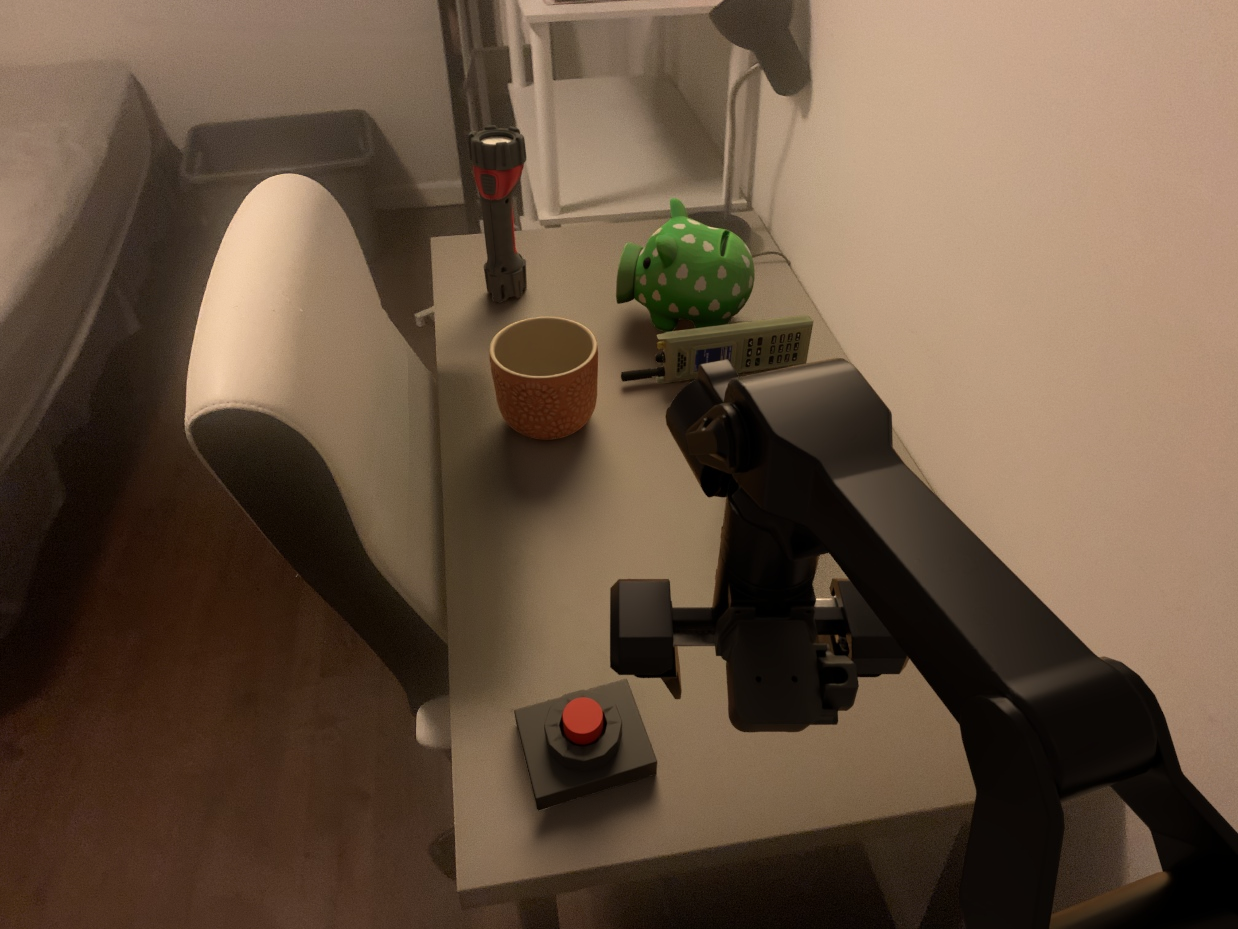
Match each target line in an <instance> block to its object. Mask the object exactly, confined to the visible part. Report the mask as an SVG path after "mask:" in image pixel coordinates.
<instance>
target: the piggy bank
mask: <svg viewBox="0 0 1238 929" xmlns="http://www.w3.org/2000/svg"><path fill="white" fill-rule="evenodd" d="M669 208H670V219H669V220H667V221H666V222H665V223H664V224H663V225H661V226H660V227H659V228H658V229H656V230H655V231H654V232H653V233H651V235H650V237H649V238H648V240H647V242H646V244H645V246H644V247H643V246H642V245H640V244H637V243H633V242H626V244H624V247H623V249H622V252H621V255H620V258H619V263H618V267H617V274H616V281H615V282H616V285H615V300H616V304H617V305H621V304H624V303H629V302H631V301H632V302H633V300H635V301H636V302H637V303H639V304H641V305H642V306H643V307H645V308H646V309H647V310H648V312H649V315H650V321H651V323H652V325H653V326H654V328H655V329H656V330H658V331H660V332H663V333H666V332H670V331H675V329H676V328H677V326H678V325H679V322H680V320H685V321H690V322H692V323H693V326H694V328H703V327H711V326H719V325H727V324H730V321H731V320H732V318H733V317H735V316H736V315H738V314H739V313H740V312H741V311H742V309H743V308H744V307H745V305H747V303H748V301H749V299H750V296H751V295H752V292H753V289H754V285H755V279H756V278H755V271H756V270H755V263H754V258H753V255H752V252H751V251H750V250H751V249H750V248H749V247H748V245H747V243H746V242H744V241H743V239H742V238H741V237H739V236H738V235H737V234H736V233H734V232H732V231H731V230H729V229H725V228H720V227H714V226H709V225H707V224H704V223H702V222H700V221H697V220H695V219H693V218H690V217H689V216H688V212H687V209H686V206H685V205H684V203H683V201H682V200H680V199H679V198H676V197H671V198H669Z"/></svg>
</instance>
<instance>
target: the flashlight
mask: <svg viewBox="0 0 1238 929" xmlns="http://www.w3.org/2000/svg"><path fill="white" fill-rule="evenodd" d="M467 142H468V154H469V161H471V162H472V168H473V176H474V181H475V184H476V187H477V190H478V195H479V199H480V203H481V212H482V213H481V214H482V223H483V224H482V225H483V233H484V242H485V250H486V262H485V263H484V264H483V270H484V271H483V273H484V279H485V286H486V291H487V293H488V294H491V296H492V299H491V300H492V301H493V302H494V303H498V304H499V303H503V302H505V301H507V300H508V299H509V298H513V297H514V298H515V299H519V298H520V297H522V296H523V291H525V290H527V287H528V280H527V279H528V278H527V260H526V259H525V258H523V255H522V254H521V253H520V252H518V250H517V246H516V234H515V221H514V220H515V217H514V210H513V208H514V207H513V195H514V193H515V191H516V188H517V187H518V184H519V182H520V180H521V177H522V175H523V170H524V166H525V163H526V161H527V150H526V148H527V147H526V141H525V135H524V134H522V133H521V130H520V129H519V128H518V127H516V126H512V125H511V126H509V127H508V128H501V127H500V128H499V127H497V126H496V125H495V124H494V125H493V124H492V125H486V126H484V128H483V130H480V131H476V130H472V131H470V132H469V134H468V135H467Z"/></svg>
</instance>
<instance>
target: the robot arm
mask: <svg viewBox="0 0 1238 929" xmlns="http://www.w3.org/2000/svg"><path fill="white" fill-rule="evenodd" d="M664 416H665V424H666V427H667V429H668V431H669V432H670V434H671V436H672V438H673V440H674V441H675V443H676V445H677V447H678V449H679V450H680V452H681V455H682V456H683V458H684V460H685V461H686V463H687V465H688V467H689V468H690V470H691V472H692V474H693V476H694V478H695V479H696V482H697V483H698V485H699V486H700V488H701V490H702V492H703V493H704V495H705V496H706V497H707V498H713V497H717V498H725V505H724V514H723V521H722V525H721V530H720V544H719V549H718V550H719V551H718V559H717V567H716V569H715V575H714V576H715V577H714V582H715V583H714V590H713V598H712V605H711V606H710V607H708V606H707V607H705V606H704V607H702V606H700V607H698V606H697V607H695V606H694V607H691V606H689V607H688V606H687V607H686V606H685V607H683V606H681V607H673V601H672V594H671V592H672V591H671V580H670V579H669V578H619V579H617V580H616V581H615V582H614V584H612V585H611V587H610V588H609V668H610V669H611V670H613V671H614V672H615V673H616V674H617V675H618V676H633V677H635V678H638V679H660V680H661V681H662V683H663V684H664V685H665V687H666V688H667V690H668V691H669V693H670V694H671V696H672V697H673V699H674V700H681V698H682V693H683V691H682V675H681V664H680V656H679V647H714V650H715V651H714V653H715V656H716V657H721V659H722V660H723V661H725V673H726V674H725V675H726V687H727V688H726V690H727V710H728V711H727V713H728V719H729V722H730V723H731V725H732V727H734V728H735V729H736V730H737V731H739V732H742V733H799V732H800V733H801V732H803V731H804V730H806V729H807V728H808V727H810V726H837V725H838V723H839V712H847V711H849V710H851V709H852V707H853V706H854V705H855V702H856V698H857V695H858V690H859V686H860V685H859V678H879V677H880V676H882V675H900V674H901V673H902V672H903V671H904V670H905V668H906V667H907V665H908V663H909V661H911V663H912V664H913V666H914V667H915V668H916V670H917V672H919V673H920V675H921V676H922V678H923V679H924V680H925V681H926V683H927V684H928V685H929V687H930V688H931V690H932V691H933V692H934V694H936V696H937V698H939V700H940V702H942V704H943V705H944V706H945V708H946V709H947V711H949V713H950V715H951V716H952V717H953V719H954V720H955V721H956V722H957V724H958V725H959V731H960V738H961V741H962V746H963V749H964V754H965V756H966V760H967V763H968V767H969V770H970V774H971V777H972V781H973V785H974V789H975V797H974V798H975V799H974V804H973V809H972V815H971V821H970V827H969V833H968V839H967V845H966V849H965V854H964V861H963V867H962V871H961V878H960V883H959V889H958V898H959V899H958V901H959V902H958V904H959V908H960V911H961V912H960V913H961V915H962V919H963V922H964V927H965V929H1238V831H1237V830H1236V829H1235V828H1234V827H1233V826H1232V825H1231V824H1230V823H1229V822H1228V820H1227V819H1225V817H1224V816H1223V815H1222V814H1221V813H1220V811H1218V809H1217V808H1216V807H1214V806H1213V804H1212V803H1211V802H1210V801H1209V800H1208V799H1207V797H1206V796H1204V794H1203V793H1202V792H1201V791H1200V790H1199V789H1198V787H1196V786H1195V785H1194V783H1192V781H1191V780H1190V779H1189V778H1188V777H1187V776H1186V775H1185V774H1184V772H1183V770H1182V766H1181V764H1180V761H1179V757H1178V754H1177V750H1176V748H1175V744H1174V741H1173V738H1172V735H1171V731H1170V728H1169V725H1168V721H1167V718H1166V716H1165V714H1164V711H1163V709H1162V707H1161V705H1160V703H1159V701H1158V697H1157V696H1156V694H1155V693H1154V692H1153V690H1152V689H1151V688H1150V687H1149V685H1148V684H1147V683H1146V682H1145V680H1144V679H1143V678H1142V677H1141V676H1140V674H1138V672H1135V671H1134V670H1133V669H1132V668H1130V666H1128V665H1126V664H1125V663H1124V662H1123V661H1121V660H1117V659H1114V658H1111V657H1108V656H1105V655H1104V656H1098V655H1096V653H1095V652H1094V651H1093V650H1092V649H1091V648H1090V647H1089V646H1088V645H1087V644H1085V642H1084V641H1083V640H1082V639H1080V637H1079V636H1078V635H1077V634H1076V633H1075V632H1073V630H1072V629H1071V628H1070V627H1069V626H1068V625H1067V624H1066V623H1065V622H1064V621H1063V620H1062V619H1060V617H1059V616H1058V615H1057V614H1055V612H1054V611H1053V610H1052V609H1051V608H1050V607H1049V606H1048V605H1047V604H1046V603H1045V602H1044V601H1043V600H1042V599H1041V598H1040V597H1039V596H1038V595H1037V594H1036V593H1035V592H1034V591H1033V590H1032V589H1030V587H1029V586H1028V585H1027V584H1026V583H1025V582H1024V581H1023V580H1022V579H1021V578H1020V577H1019V576H1018V575H1017V574H1016V573H1015V572H1014V571H1013V570H1012V569H1011V568H1010V567H1009V566H1008V565H1007V564H1006V563H1005V562H1004V561H1003V560H1002V559H1001V558H1000V557H999V556H998V555H997V554H996V553H995V552H994V551H993V550H992V549H991V548H990V547H989V546H988V545H987V544H986V542H984V541H983V540H982V539H981V538H980V537H979V536H978V535H977V534H976V533H975V532H974V531H973V530H972V529H971V528H970V527H969V526H968V525H967V524H966V523H965V522H964V521H963V520H962V519H961V518H960V517H959V516H958V515H957V514H956V513H955V512H954V511H953V510H952V509H951V508H950V507H949V506H948V505H947V504H946V503H945V501H943V500H942V499H941V498H940V497H939V495H937V494H936V493H935V492H934V491H933V490H932V489H931V488H930V487H929V486H928V485H927V484H926V483H925V482H924V481H923V480H922V479H921V478H920V477H919V476H918V475H917V474H916V473H915V472H914V471H913V470H912V469H911V468H910V467H909V466H908V465H907V464H906V462H905V461H904V460H903V458H902V457H901V456H900V454H899V453H898V452H897V450H896V449H895V448H894V444H893V443H894V442H893V414H892V410H891V409H890V407H889V406H888V405H887V404H886V402H885V401H884V400H883V399H882V397H881V396H880V395H879V394H878V392H877V391H876V390H875V389H874V388H873V386H872V384H871V383H870V382H869V381H868V380H867V379H866V377H865V376H864V375H863V373H862V372H861V371H860V370H859V369H858V367H856V366H855V365H854V364H853V363H851V362H850V361H848V360H846V359H845V358H843V357H832V358H826V359H821V360H816V361H811V362H806V364H801V365H796V366H789V367H782V368H775V369H770V370H765V371H761V372H756V373H752V374H747V375H742V376H739V373H737V372H736V370H735V368H734V367H733V365H732V364H731V363H730V361H729V360H728V359H726V360H721V361H715V362H710V363H705V364H700V365H699V366H698V378H697V379H692V380H691V381H690V382H689V383H687V384H686V385H685V386H684V387H682V388H681V389H680V390H679V391H678V392H677V393H676V395H675V396H674V398H673V399H672V400H671V402H670V403H669V407H667V408H666V410H665V415H664ZM826 554H829V555H830V557H831V558H832V559H833V560H834V561H835V563H836V564H837V566H838V567H839V568H840V570H841V571H842V572H843V574H844V575H845V576H846V578H845V577H843V578H841V577H840V578H836V577H835V578H834V577H833V578H831V580H830V585H829V592H830V596H832V597H816V593H815V588H814V581H815V577H816V573H817V569H818V565H819V560H820V557H821V556H822V555H826ZM1107 787H1110V788H1111V789H1112V790H1113V791H1114V793H1115V794H1116V795H1117V796H1118V797H1119V799H1121V800H1122V801H1123V802H1124V803H1125V804H1126V806H1127V807H1128V808H1129V809H1130V810H1131V811H1132V812H1133V813H1134V814H1135V815H1136V816H1137V818H1138V819H1140V821H1141V822H1143V824H1144V825H1145V826H1146V827H1147V828H1148V830H1149V832H1150V835H1151V837H1152V841H1153V844H1154V848H1155V850H1156V854H1157V858H1158V861H1159V865H1160V867H1161V871H1158V872H1155V873H1152V874H1150V875H1147V876H1145V877H1142V878H1139V879H1137V880H1135V881H1133V882H1130V883H1127V884H1125V885H1122V886H1120V887H1117V888H1114V889H1112V890H1109V891H1107V892H1105V893H1101V894H1099V895H1097V896H1094V897H1092V898H1089V899H1087V900H1084V901H1081V902H1079V903H1077V904H1074V905H1072V906H1069V907H1067V908H1064V909H1062V910H1058V911H1057V912H1054V913H1053V908H1054V900H1055V894H1056V888H1057V880H1058V874H1059V868H1060V861H1061V855H1062V850H1063V849H1062V848H1063V841H1064V835H1065V828H1066V826H1065V824H1066V823H1065V812H1064V809H1063V806H1062V804H1063V803H1066V802H1068V801H1071V800H1074V799H1076V798H1080V797H1082V796H1085V795H1087V794H1091V793H1093V792H1096V791H1099V790H1101V789H1104V788H1107Z"/></svg>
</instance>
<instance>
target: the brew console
mask: <svg viewBox="0 0 1238 929" xmlns="http://www.w3.org/2000/svg"><path fill="white" fill-rule="evenodd" d="M582 697H585V698H590V699H592V700H594V701H596V702H597V703H598V704H599V705H600V707H601V709H602V712H603V730H602V733H601V735H600V736H599V738H598V739H597V740H595V741H594V742H592V743H590V744H585V745H580V744H576V743H573V742H572V741H570V740H569V739H568V738H567V737H566V735H565V733H564V728H563V717H562V716H563V711H564V708H565V707H566V705H567V704H568V703H569V702H571V701H572V700H574V699H577V698H582ZM513 713H514V720H515V725H516V728H517V732H518V737H519V741H520V745H521V749H522V752H523V758H524V762H525V765H526V766H525V767H526V770H527V773H528V774H527V775H528V778H529V782H530V786H531V790H532V795H533V800H534V803H535V807H536V810H537V811H538V812H539V811H543V810H546V809H550V808H553V807H557V806H559V805H563V804H564V803H568V802H572V801H576V800H578V799H582V798H585V797H587V796H588V797H589V796H591V795H595V794H597V793H601V792H604V791H607V790H611V789H613V788H616V787H620V786H623V785H627V784H629V783H632V782H636V781H639V780H643V779H645V778H649V777H652V776H655V775H657V773H658V759H657V756H656V754H655V751H654V749H653V745H652V743H651V740H650V737H649V735H648V732H647V729H646V727H645V724H644V721H643V718H642V716H641V713H640V709H639V707H638V705H637V703H636V699H635V697H634V694H633V691H632V688H631V686H630V684H629V681H628V679H627V678H624V679H620V680H616V681H612V682H609V683H606V684H601V685H598V686H595V687H591V688H587V689H580V690H575V691H572V692H568V693H566V694H562V696H559V697H555V698H552V699H548V700H545V701H542V702H537V703H534V704H531V705H526V706H524V707H520V708H516V709H514V710H513Z"/></svg>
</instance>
